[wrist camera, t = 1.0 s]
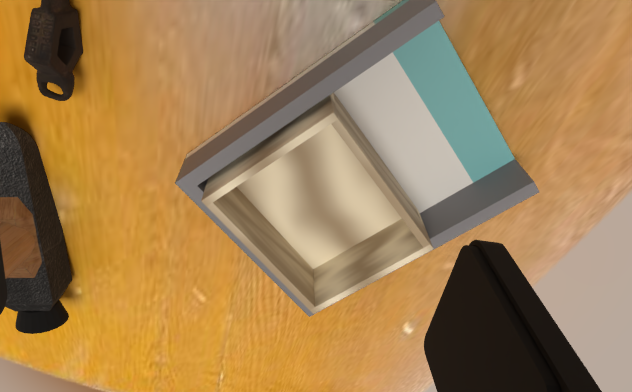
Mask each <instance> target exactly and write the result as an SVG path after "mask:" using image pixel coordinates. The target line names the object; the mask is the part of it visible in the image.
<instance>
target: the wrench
mask: <svg viewBox="0 0 632 392" xmlns="http://www.w3.org/2000/svg"><path fill="white" fill-rule="evenodd" d="M82 53H83V46H82V40H81V34H80V26H79V19H78V12H77V10H76V9H73V8H72V7H71V6H70V2H69V0H41V7H39V8H33V9H32V12H31V17H30V23H29V29H28V34H27V40H26V47H25V53H24V58H25V60H26V61H27V62H28V63H29V64H30V65H32V66H33V67H34V68H35V69H37V83H38V87H39V90H40V92H41V93H42V94H43V95H44V96H47V97H49V98H52V99H55V100H58V101H65V100H68V99H69V98H70V97H71V96H72V93H73V89H74V75H73V69H74V67H75V65H76V63H77V61H78V59H79V57H80V56H81V55H82ZM48 82H51V83H54V84H56V85H58V86H60V88H61V89H62V91H63V94H62V95H60V94H57V93H54V92H52V91H50V90H48V89H47V83H48Z"/></svg>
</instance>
